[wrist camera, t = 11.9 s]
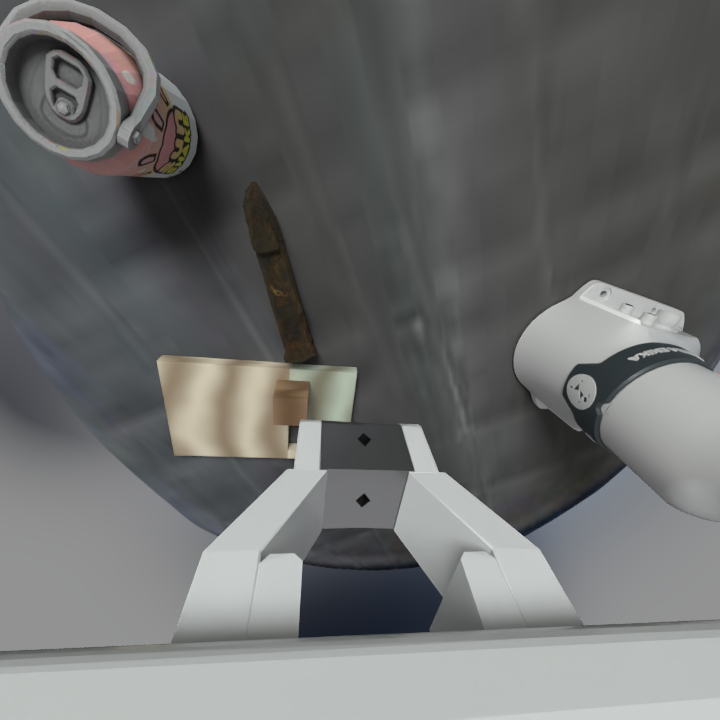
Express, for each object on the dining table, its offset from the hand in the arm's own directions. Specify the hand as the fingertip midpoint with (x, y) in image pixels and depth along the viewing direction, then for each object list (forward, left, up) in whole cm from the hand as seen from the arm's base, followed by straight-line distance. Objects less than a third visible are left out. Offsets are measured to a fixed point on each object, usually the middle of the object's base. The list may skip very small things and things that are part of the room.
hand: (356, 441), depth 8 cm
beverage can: (+17, -9, -31) cm, 37 cm away
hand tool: (+6, +4, -32) cm, 32 cm away
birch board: (+8, +22, -31) cm, 39 cm away
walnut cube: (+4, +19, -30) cm, 35 cm away
